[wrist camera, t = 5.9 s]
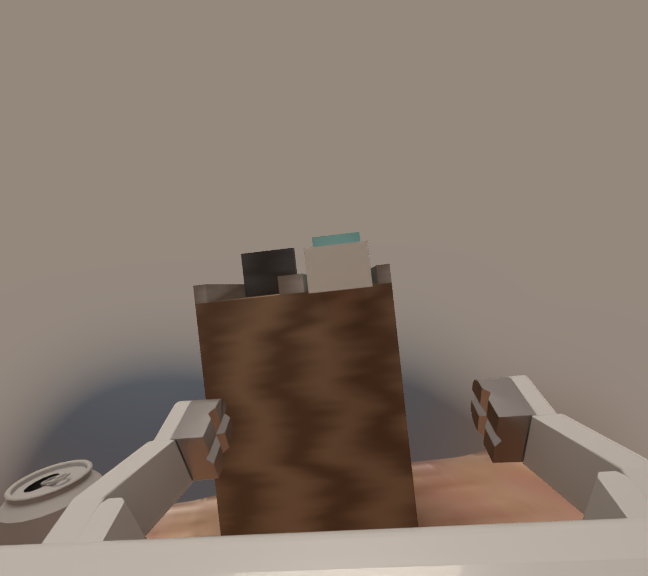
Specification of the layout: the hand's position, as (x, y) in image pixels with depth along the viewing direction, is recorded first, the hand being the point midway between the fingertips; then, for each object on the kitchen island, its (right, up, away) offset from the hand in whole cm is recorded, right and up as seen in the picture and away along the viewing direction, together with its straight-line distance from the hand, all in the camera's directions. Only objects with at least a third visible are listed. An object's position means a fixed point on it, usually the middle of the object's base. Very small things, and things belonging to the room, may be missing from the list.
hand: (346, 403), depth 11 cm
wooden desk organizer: (0, -22, +22) cm, 32 cm away
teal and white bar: (+1, +4, +17) cm, 18 cm away
